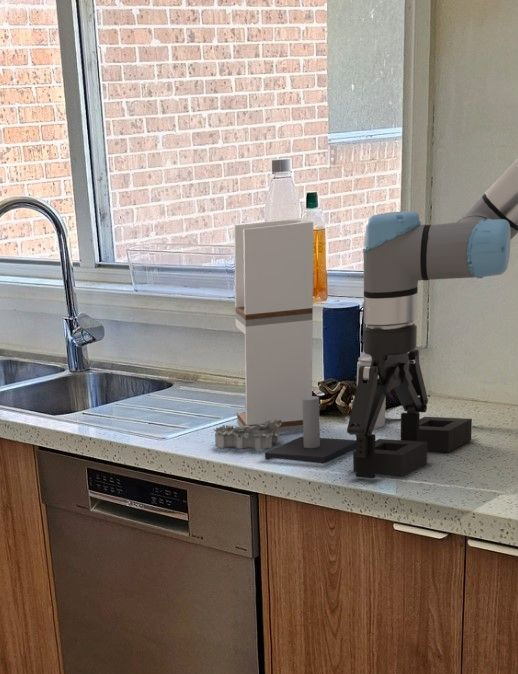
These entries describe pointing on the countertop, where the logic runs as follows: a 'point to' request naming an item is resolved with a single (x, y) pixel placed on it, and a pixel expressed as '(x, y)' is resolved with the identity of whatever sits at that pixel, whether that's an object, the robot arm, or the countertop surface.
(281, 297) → the striped white tower
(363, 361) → the beverage can
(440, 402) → the countertop surface
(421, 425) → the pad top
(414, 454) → the black square ring block
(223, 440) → the egg carton
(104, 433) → the countertop surface
